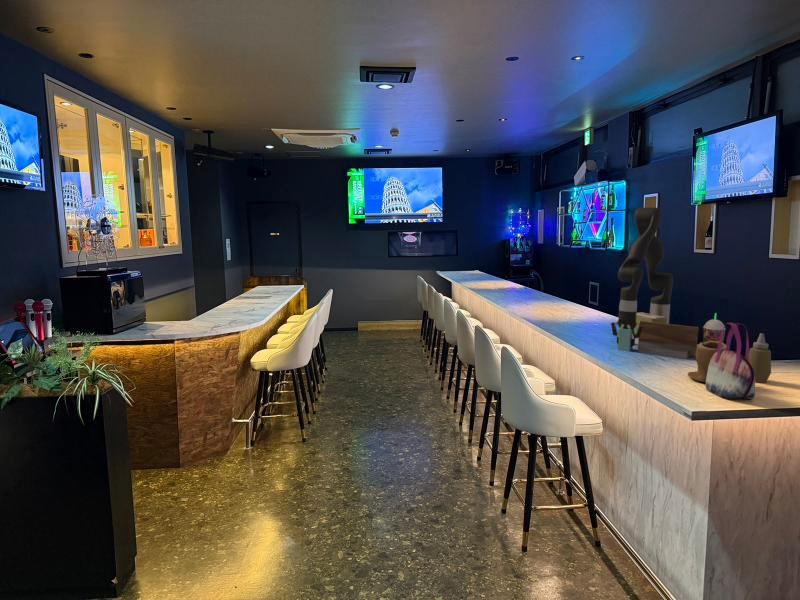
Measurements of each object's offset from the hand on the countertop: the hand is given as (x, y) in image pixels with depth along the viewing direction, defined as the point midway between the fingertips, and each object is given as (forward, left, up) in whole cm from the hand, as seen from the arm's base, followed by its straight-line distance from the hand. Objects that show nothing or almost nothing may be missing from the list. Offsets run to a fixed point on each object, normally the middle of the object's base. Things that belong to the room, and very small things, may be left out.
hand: (625, 345), depth 245 cm
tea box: (-18, +4, -2) cm, 19 cm away
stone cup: (+32, +40, -2) cm, 51 cm away
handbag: (+46, +47, -2) cm, 66 cm away
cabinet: (0, 0, -2) cm, 2 cm away
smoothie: (-8, +34, -2) cm, 35 cm away
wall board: (-3, +16, -2) cm, 16 cm away
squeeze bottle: (+20, +53, -2) cm, 57 cm away
